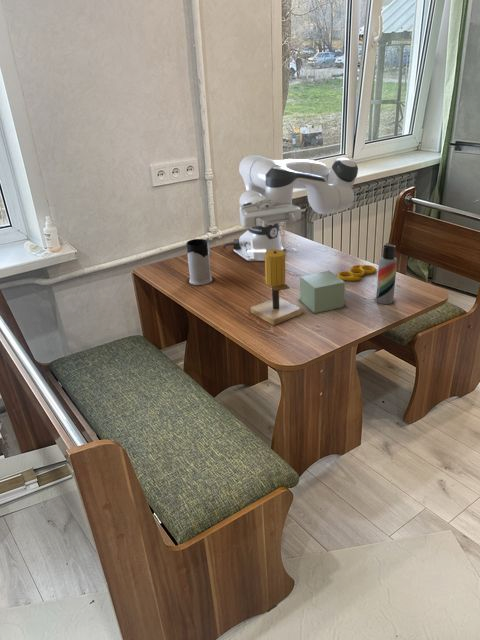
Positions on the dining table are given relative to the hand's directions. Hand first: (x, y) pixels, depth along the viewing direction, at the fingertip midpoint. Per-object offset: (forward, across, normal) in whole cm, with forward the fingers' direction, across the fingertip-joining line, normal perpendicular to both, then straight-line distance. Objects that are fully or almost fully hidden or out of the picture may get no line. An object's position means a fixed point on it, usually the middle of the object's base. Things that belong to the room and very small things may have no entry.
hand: (279, 222), depth 168 cm
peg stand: (+7, +5, -28) cm, 29 cm away
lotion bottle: (+14, -32, -28) cm, 45 cm away
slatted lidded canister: (+8, +5, -17) cm, 20 cm away
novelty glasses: (-10, -35, -28) cm, 46 cm away
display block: (+7, -12, -28) cm, 31 cm away
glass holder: (-33, +18, -28) cm, 47 cm away
